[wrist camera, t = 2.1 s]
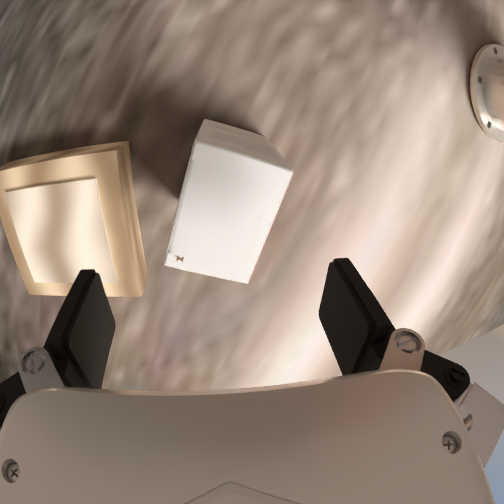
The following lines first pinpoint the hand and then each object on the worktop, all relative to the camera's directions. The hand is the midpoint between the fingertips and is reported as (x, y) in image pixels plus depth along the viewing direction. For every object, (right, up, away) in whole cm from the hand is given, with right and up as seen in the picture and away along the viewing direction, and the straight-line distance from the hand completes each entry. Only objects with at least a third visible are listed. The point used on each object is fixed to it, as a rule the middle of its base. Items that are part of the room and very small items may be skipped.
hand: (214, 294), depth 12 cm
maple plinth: (-16, +5, +14) cm, 22 cm away
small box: (-1, +9, +14) cm, 16 cm away
